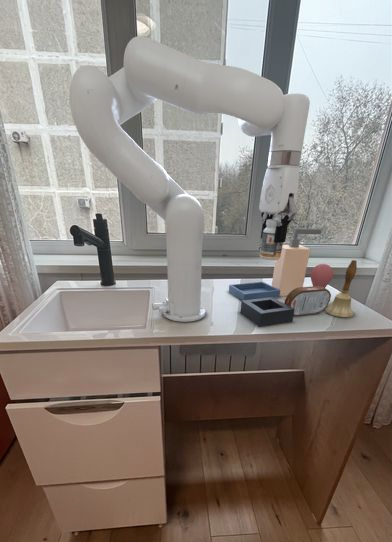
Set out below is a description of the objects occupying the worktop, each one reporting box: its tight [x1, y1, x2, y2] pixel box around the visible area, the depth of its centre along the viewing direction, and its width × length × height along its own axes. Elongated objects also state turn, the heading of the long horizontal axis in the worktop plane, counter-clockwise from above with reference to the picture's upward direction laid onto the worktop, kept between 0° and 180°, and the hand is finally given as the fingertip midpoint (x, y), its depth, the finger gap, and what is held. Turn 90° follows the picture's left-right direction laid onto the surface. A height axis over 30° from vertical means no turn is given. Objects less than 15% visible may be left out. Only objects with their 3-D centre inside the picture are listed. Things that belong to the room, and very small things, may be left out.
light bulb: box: [310, 263, 334, 289], centre depth 98 cm, size 7×7×12 cm
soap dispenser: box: [271, 228, 323, 297], centre depth 102 cm, size 13×9×22 cm
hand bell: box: [324, 259, 358, 318], centre depth 86 cm, size 8×8×16 cm
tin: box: [283, 285, 332, 317], centre depth 86 cm, size 15×3×8 cm, turn 109°
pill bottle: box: [259, 218, 284, 261], centre depth 78 cm, size 6×6×10 cm
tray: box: [228, 281, 281, 301], centre depth 103 cm, size 14×11×3 cm
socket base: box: [239, 297, 295, 328], centre depth 84 cm, size 11×11×4 cm
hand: (272, 239), depth 78 cm, fingers closed on pill bottle, 5 cm apart
